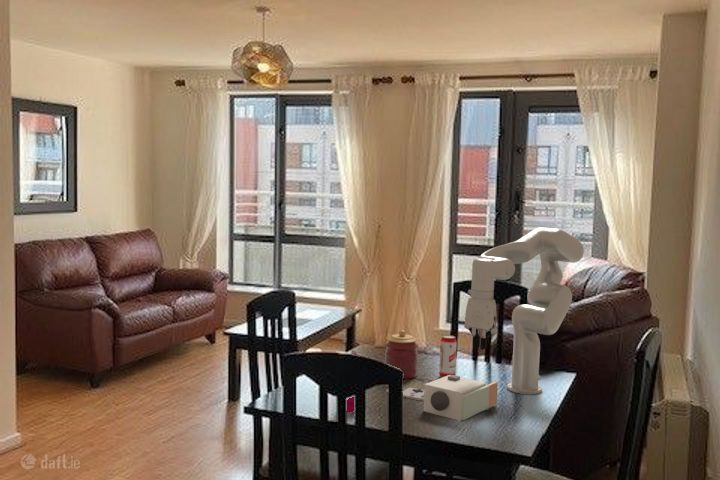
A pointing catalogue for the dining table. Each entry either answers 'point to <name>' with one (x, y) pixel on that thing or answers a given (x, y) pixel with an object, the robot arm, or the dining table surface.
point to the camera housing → (448, 395)
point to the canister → (402, 353)
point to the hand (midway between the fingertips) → (479, 348)
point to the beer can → (447, 355)
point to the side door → (479, 400)
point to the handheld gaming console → (414, 394)
